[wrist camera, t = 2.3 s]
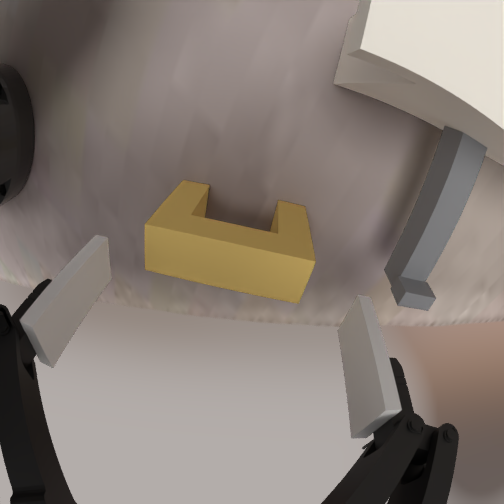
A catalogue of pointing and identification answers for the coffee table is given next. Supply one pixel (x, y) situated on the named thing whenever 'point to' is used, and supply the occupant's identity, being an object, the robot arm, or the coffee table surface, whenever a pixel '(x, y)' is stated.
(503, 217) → the coffee table surface
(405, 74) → the shelf
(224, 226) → the yellow u-shaped block
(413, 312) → the coffee table surface
